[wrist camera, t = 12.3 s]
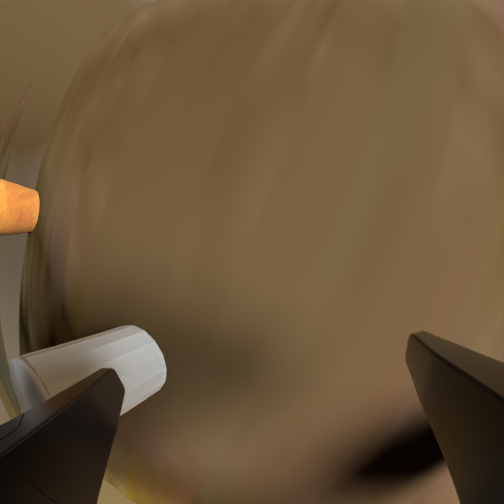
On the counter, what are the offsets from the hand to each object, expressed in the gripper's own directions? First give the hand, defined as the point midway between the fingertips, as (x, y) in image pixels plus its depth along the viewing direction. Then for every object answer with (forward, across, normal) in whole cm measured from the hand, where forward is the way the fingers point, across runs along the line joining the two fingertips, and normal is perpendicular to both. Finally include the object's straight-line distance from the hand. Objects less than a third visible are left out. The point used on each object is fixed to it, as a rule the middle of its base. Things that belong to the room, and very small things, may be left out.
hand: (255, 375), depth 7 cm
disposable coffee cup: (+23, +33, -8) cm, 41 cm away
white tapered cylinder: (+13, +13, +9) cm, 21 cm away
